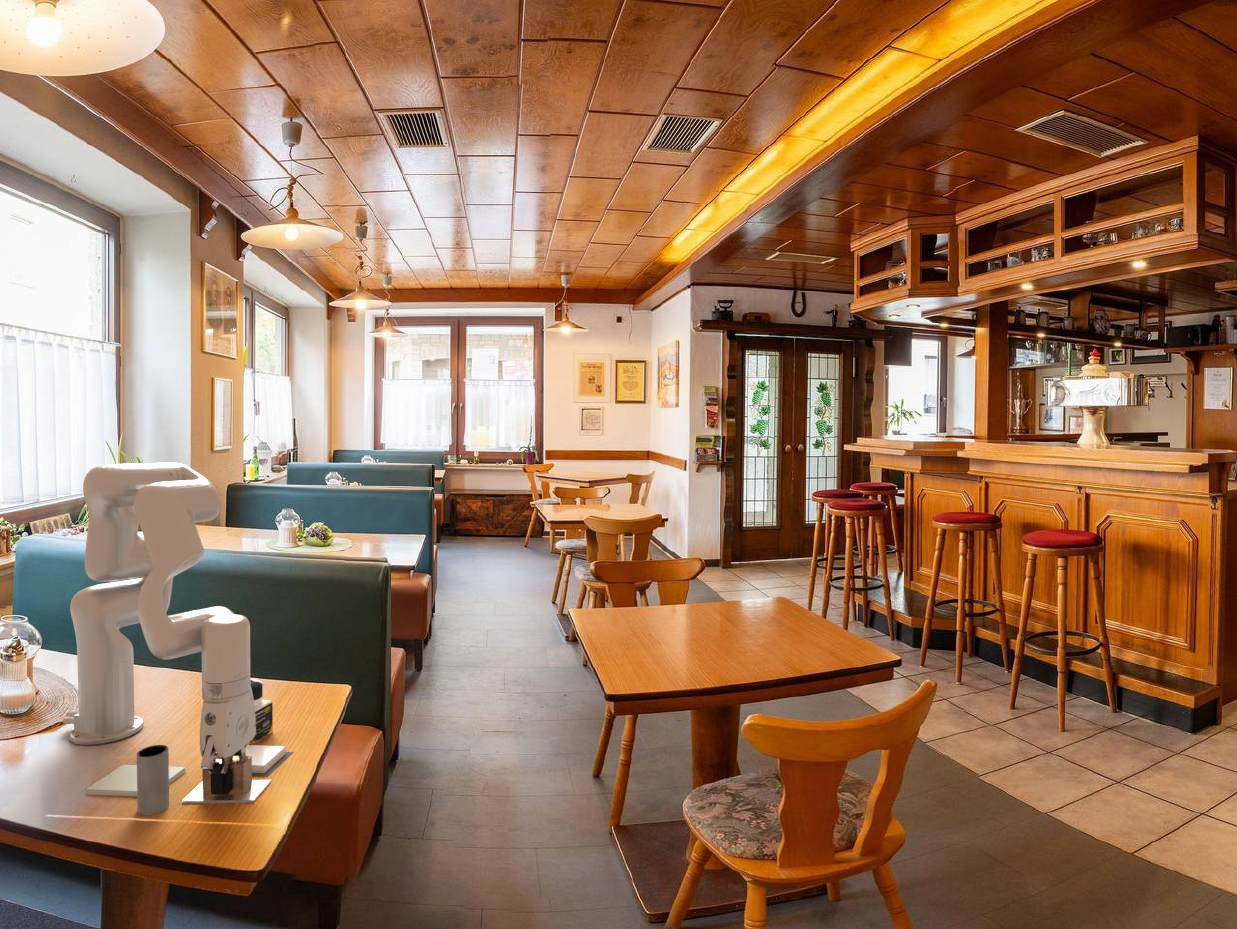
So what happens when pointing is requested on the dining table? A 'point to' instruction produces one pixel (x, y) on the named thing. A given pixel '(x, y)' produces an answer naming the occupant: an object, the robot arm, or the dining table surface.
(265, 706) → the medicine bottle
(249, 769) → the float
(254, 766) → the tile
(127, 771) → the board
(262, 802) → the dining table surface
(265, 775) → the mat
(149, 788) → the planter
